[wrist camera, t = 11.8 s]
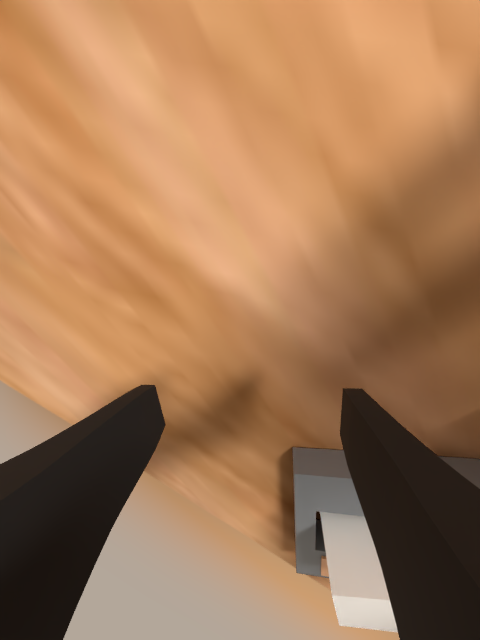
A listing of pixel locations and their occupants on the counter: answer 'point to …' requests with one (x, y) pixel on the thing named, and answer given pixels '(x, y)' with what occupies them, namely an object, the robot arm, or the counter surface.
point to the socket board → (334, 499)
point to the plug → (356, 574)
